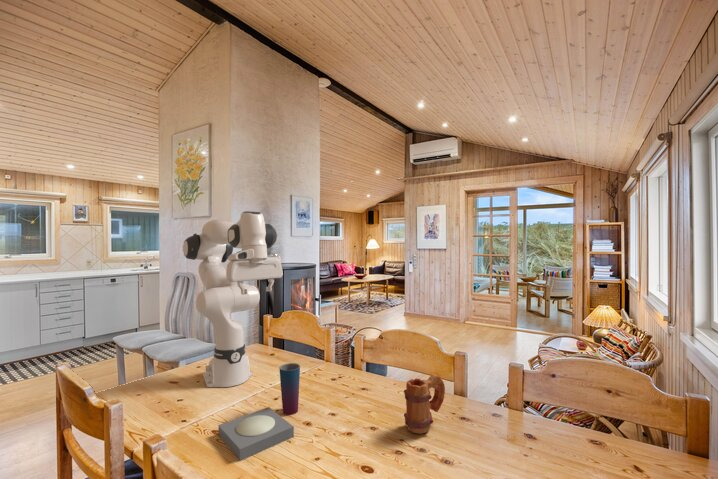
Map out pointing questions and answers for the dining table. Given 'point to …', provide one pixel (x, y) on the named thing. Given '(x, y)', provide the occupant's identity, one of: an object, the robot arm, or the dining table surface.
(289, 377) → the cup
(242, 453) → the plinth
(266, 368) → the dining table surface
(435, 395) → the mug
